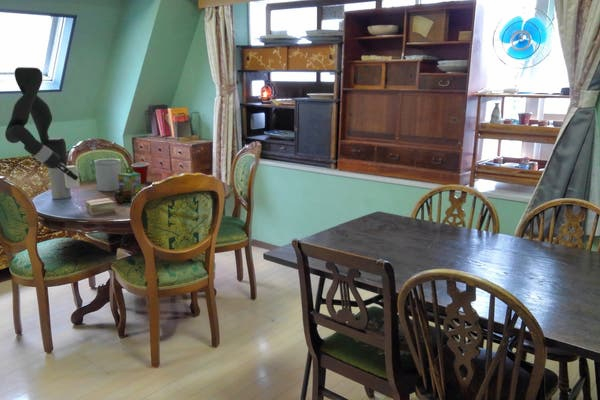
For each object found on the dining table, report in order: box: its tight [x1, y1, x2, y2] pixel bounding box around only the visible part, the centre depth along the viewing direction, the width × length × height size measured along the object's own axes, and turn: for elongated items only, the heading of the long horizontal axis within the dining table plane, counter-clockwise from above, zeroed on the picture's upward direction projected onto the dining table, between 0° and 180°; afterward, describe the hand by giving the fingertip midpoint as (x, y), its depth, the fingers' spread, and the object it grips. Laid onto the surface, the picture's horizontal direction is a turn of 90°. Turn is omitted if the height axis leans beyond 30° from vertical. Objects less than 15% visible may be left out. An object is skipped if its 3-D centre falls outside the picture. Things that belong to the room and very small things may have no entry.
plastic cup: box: [131, 161, 150, 183], centre depth 319 cm, size 11×11×12 cm
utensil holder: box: [94, 157, 122, 192], centre depth 299 cm, size 15×15×18 cm
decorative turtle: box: [113, 188, 134, 205], centre depth 268 cm, size 10×15×8 cm, turn 47°
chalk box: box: [118, 167, 142, 195], centre depth 288 cm, size 9×9×15 cm
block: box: [85, 197, 116, 216], centre depth 250 cm, size 11×11×5 cm
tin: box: [64, 165, 81, 189], centre depth 250 cm, size 6×6×10 cm
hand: (75, 177), depth 252 cm, fingers closed on tin, 5 cm apart
